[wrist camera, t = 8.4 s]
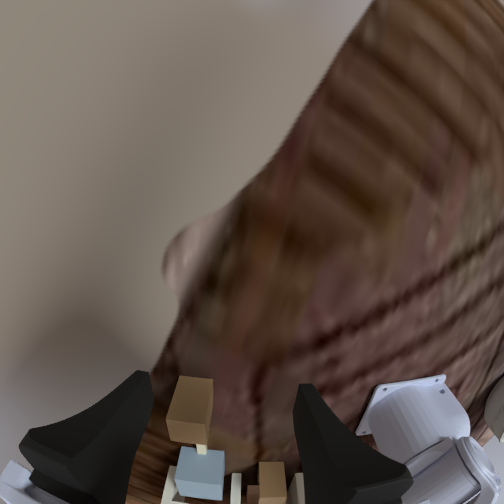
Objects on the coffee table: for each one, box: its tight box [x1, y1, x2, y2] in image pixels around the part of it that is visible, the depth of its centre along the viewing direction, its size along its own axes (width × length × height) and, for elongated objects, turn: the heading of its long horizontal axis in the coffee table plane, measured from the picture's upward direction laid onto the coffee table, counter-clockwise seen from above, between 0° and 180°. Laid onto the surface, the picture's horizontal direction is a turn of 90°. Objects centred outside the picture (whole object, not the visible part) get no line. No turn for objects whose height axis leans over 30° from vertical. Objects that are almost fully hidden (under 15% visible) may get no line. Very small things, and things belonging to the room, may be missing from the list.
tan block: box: [246, 462, 287, 504], centre depth 26 cm, size 5×12×6 cm, turn 176°
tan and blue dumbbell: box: [166, 376, 225, 500], centre depth 23 cm, size 5×17×6 cm, turn 177°
